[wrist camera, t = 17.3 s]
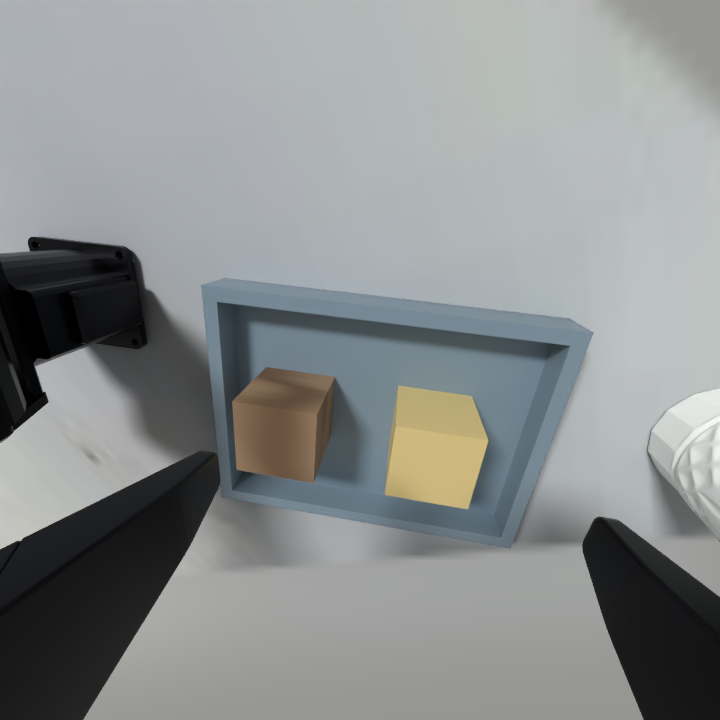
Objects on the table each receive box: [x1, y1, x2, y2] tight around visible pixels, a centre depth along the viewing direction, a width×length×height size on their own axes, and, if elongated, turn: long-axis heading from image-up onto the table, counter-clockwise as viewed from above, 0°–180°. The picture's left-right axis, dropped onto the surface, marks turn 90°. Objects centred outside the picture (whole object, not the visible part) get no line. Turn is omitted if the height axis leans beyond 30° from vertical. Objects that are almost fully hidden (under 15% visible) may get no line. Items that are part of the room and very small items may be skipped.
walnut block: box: [232, 367, 335, 483], centre depth 20 cm, size 4×4×4 cm
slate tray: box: [201, 278, 593, 548], centre depth 21 cm, size 20×15×2 cm
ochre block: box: [385, 386, 488, 509], centre depth 19 cm, size 4×4×4 cm
